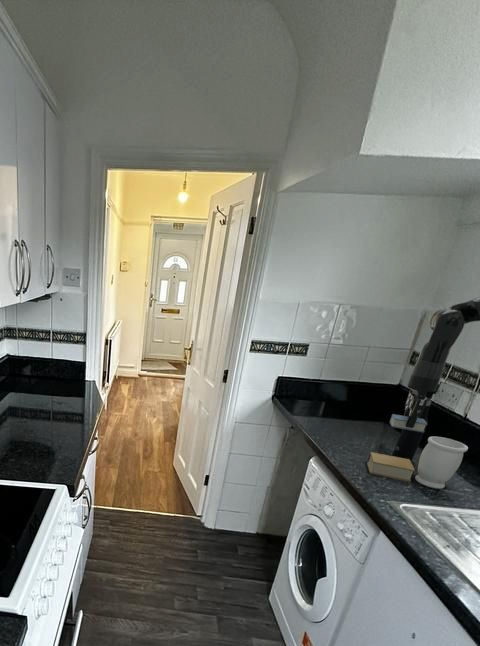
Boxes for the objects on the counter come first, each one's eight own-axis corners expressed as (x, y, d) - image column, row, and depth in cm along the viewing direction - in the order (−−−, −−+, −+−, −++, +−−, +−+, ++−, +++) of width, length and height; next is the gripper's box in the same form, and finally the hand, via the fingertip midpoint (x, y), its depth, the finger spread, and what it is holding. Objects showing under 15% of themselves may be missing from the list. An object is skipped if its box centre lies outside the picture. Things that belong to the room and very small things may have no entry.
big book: (405, 470, 148) (409, 459, 146) (410, 481, 140) (415, 470, 138) (366, 462, 153) (370, 451, 151) (369, 473, 145) (373, 461, 143)
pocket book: (420, 427, 139) (423, 419, 138) (424, 432, 134) (427, 423, 133) (389, 422, 143) (392, 414, 141) (391, 427, 138) (394, 418, 137)
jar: (453, 493, 134) (474, 452, 127) (416, 486, 137) (435, 445, 130) (441, 479, 143) (460, 439, 137) (406, 472, 146) (423, 433, 140)
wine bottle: (413, 461, 156) (447, 385, 143) (406, 465, 152) (440, 387, 140) (395, 455, 160) (426, 380, 148) (387, 458, 157) (418, 382, 144)
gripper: (446, 381, 124) (425, 433, 131) (435, 372, 136) (416, 420, 143) (416, 377, 127) (397, 428, 134) (408, 369, 139) (390, 416, 146)
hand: (407, 424), depth 138 cm, fingers closed on pocket book, 5 cm apart
